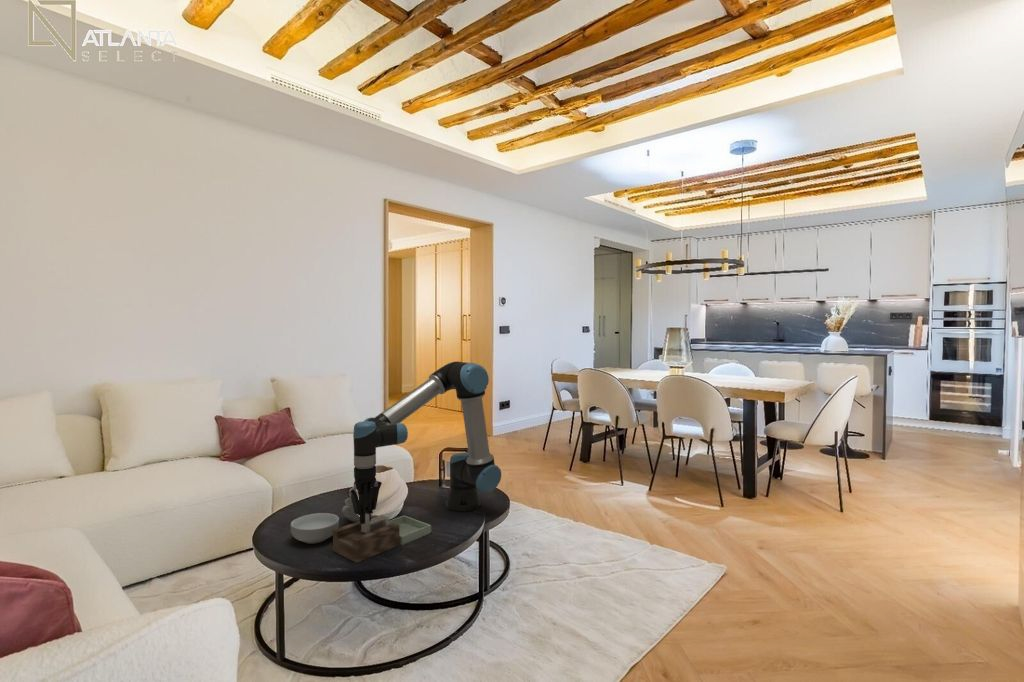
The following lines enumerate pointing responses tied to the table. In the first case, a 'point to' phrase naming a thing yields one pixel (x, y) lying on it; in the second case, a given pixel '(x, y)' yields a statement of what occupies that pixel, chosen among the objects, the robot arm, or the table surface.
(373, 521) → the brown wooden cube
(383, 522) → the grey cube
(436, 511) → the table surface
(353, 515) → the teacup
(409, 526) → the tray
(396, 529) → the slot block
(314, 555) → the table surface
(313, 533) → the cereal bowl
